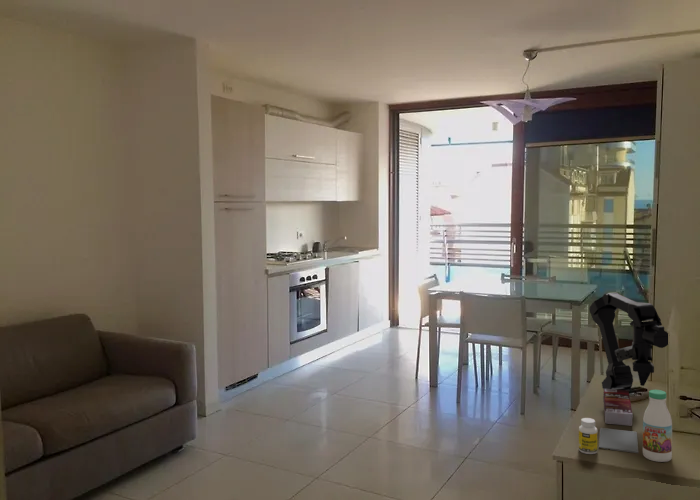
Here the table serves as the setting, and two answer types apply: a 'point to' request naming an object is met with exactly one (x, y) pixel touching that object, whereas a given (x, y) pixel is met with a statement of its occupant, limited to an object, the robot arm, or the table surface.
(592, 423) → the supplement bottle
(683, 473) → the table surface
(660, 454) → the milk bottle
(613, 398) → the supplement box
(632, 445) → the mat
